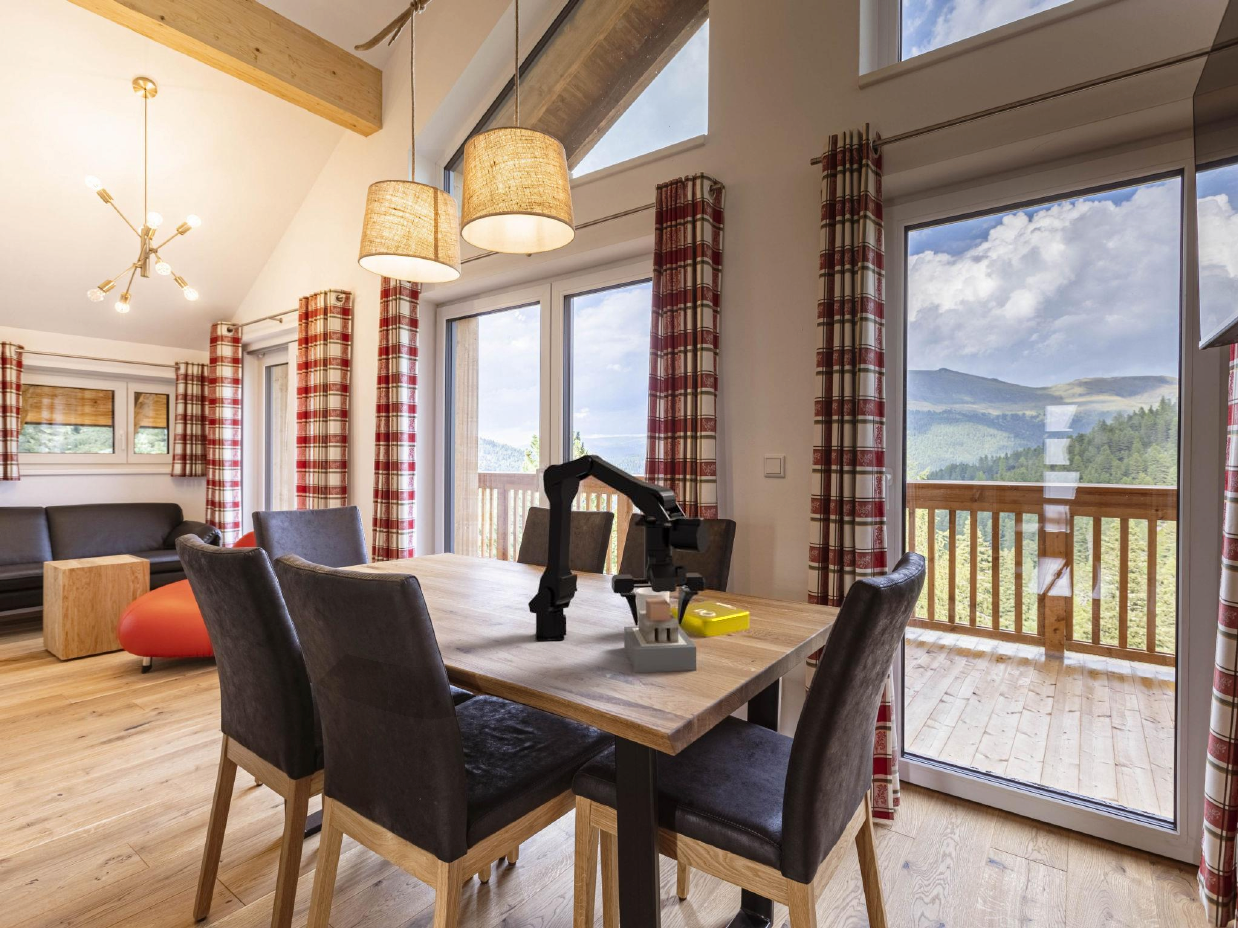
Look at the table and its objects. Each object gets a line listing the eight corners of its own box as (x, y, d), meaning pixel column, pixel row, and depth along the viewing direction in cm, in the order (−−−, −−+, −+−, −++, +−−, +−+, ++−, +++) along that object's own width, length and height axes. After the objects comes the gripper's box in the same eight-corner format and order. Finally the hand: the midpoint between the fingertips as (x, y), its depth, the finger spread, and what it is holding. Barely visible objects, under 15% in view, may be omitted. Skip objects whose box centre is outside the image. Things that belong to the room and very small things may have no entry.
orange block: (650, 620, 124) (650, 605, 124) (645, 613, 130) (645, 598, 130) (670, 619, 125) (670, 604, 125) (664, 612, 131) (664, 598, 131)
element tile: (753, 629, 150) (753, 609, 150) (707, 639, 142) (707, 618, 142) (710, 616, 163) (710, 598, 163) (666, 625, 154) (666, 605, 154)
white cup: (657, 640, 140) (657, 596, 140) (629, 634, 145) (629, 591, 145) (675, 632, 146) (675, 590, 146) (648, 626, 151) (648, 586, 151)
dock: (635, 672, 119) (634, 648, 119) (624, 647, 135) (624, 626, 135) (696, 669, 120) (696, 646, 120) (678, 645, 136) (678, 624, 136)
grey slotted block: (646, 643, 122) (646, 623, 122) (638, 629, 132) (638, 610, 132) (678, 642, 123) (678, 622, 123) (668, 628, 133) (668, 609, 133)
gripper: (617, 555, 118) (617, 637, 118) (713, 553, 120) (712, 634, 121) (611, 547, 129) (611, 622, 129) (698, 545, 132) (698, 619, 132)
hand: (658, 624), depth 128 cm, fingers open, 9 cm apart
